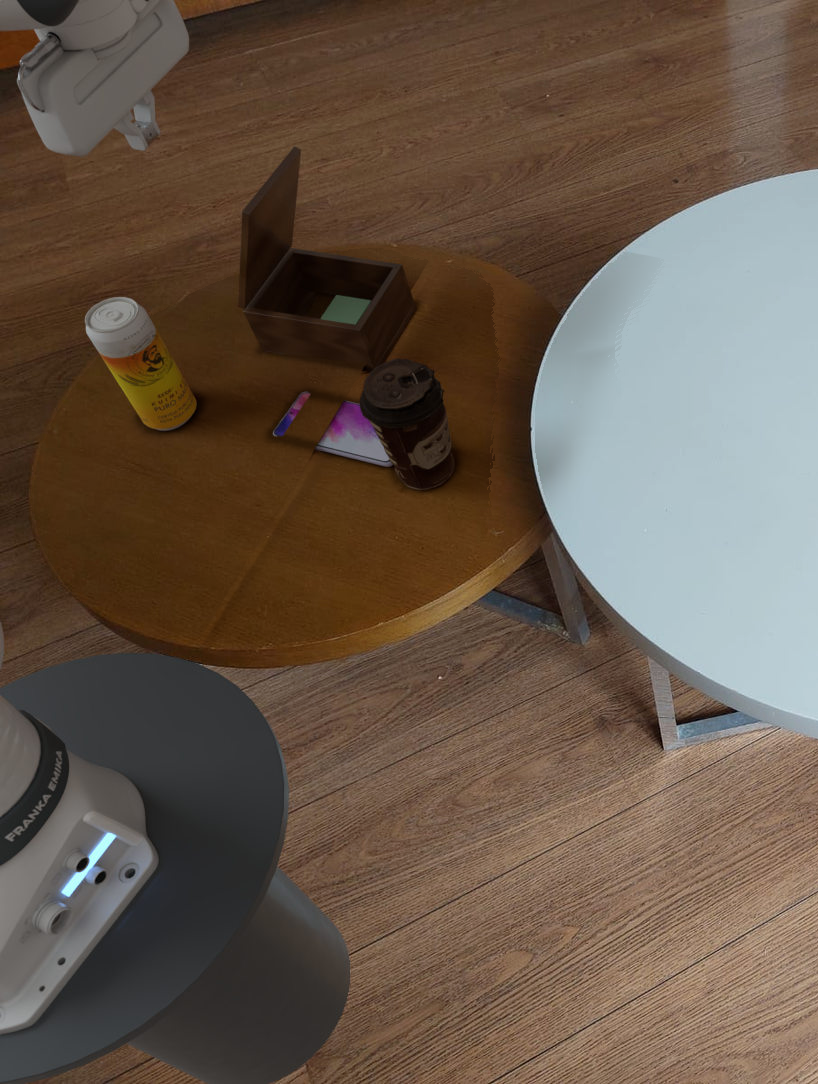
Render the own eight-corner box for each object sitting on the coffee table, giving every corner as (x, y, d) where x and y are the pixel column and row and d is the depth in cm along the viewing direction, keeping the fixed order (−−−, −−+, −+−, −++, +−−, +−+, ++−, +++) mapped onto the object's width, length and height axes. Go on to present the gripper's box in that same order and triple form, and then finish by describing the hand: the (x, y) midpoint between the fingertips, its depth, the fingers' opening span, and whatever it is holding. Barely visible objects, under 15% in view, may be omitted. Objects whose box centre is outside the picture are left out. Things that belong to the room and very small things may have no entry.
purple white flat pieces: (390, 465, 119) (269, 435, 122) (392, 470, 120) (272, 440, 123) (420, 417, 123) (302, 389, 126) (422, 422, 124) (305, 394, 127)
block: (354, 325, 126) (318, 320, 127) (365, 354, 129) (331, 348, 130) (371, 300, 128) (336, 294, 129) (381, 329, 132) (347, 323, 133)
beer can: (177, 439, 123) (115, 339, 111) (132, 426, 125) (67, 325, 113) (210, 403, 127) (154, 302, 115) (167, 390, 128) (107, 288, 116)
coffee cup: (479, 446, 122) (454, 360, 111) (451, 504, 117) (422, 419, 106) (405, 434, 123) (374, 348, 112) (375, 490, 118) (339, 405, 108)
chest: (416, 308, 135) (402, 264, 130) (376, 373, 129) (359, 330, 123) (308, 291, 138) (290, 247, 132) (264, 355, 131) (242, 311, 126)
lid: (301, 149, 120) (294, 145, 119) (249, 214, 113) (241, 211, 113) (292, 245, 132) (285, 242, 132) (244, 309, 125) (237, 306, 125)
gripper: (41, 73, 94) (117, 208, 105) (168, -42, 106) (224, 90, 117) (-22, 65, 95) (60, 200, 106) (110, -49, 107) (171, 84, 118)
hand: (147, 141), depth 112 cm, fingers closed
